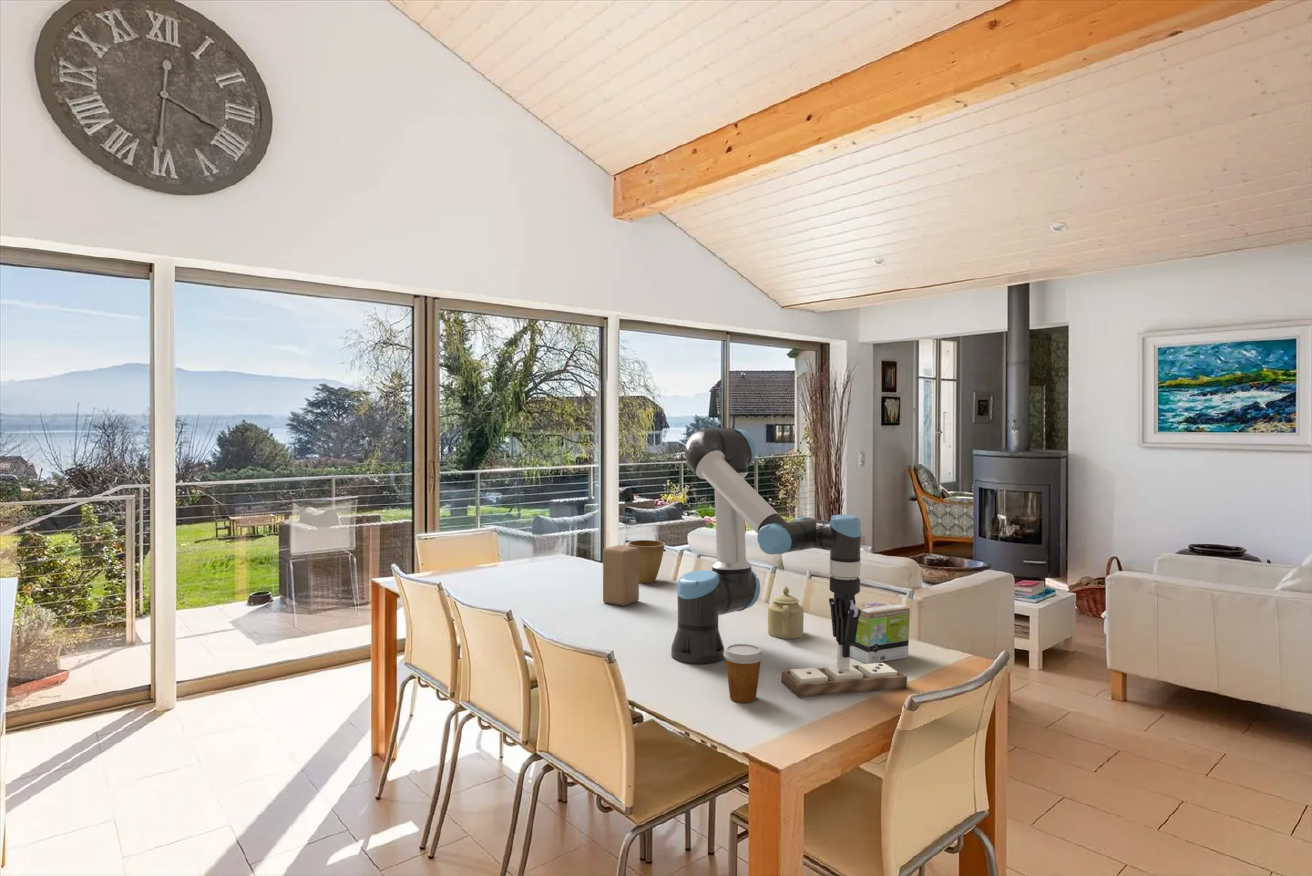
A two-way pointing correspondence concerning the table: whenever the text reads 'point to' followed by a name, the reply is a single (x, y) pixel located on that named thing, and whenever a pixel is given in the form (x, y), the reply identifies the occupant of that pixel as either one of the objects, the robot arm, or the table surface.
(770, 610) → the beige teapot
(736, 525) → the robot arm
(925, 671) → the table surface
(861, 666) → the tile
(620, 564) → the block
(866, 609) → the tea box
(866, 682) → the board
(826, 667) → the tile
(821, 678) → the tile
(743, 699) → the disposable coffee cup
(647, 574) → the plant pot
